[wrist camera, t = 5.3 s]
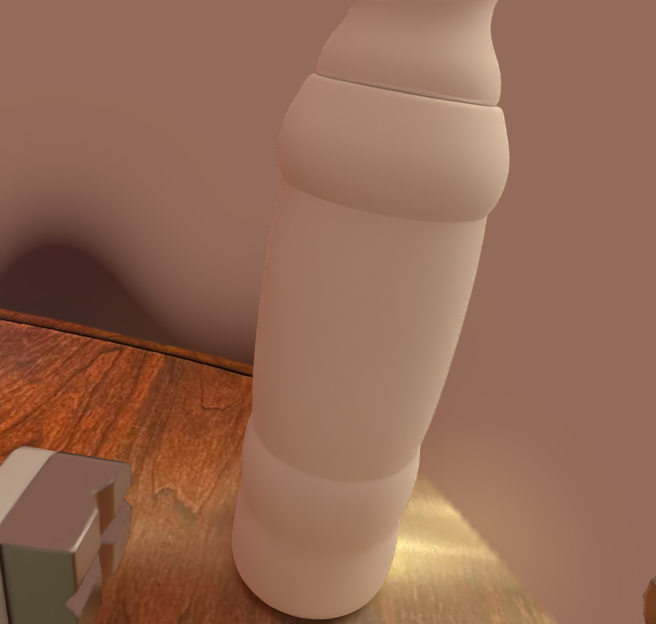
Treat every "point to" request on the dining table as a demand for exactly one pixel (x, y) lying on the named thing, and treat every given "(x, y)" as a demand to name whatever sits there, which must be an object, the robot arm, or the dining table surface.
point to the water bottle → (365, 293)
